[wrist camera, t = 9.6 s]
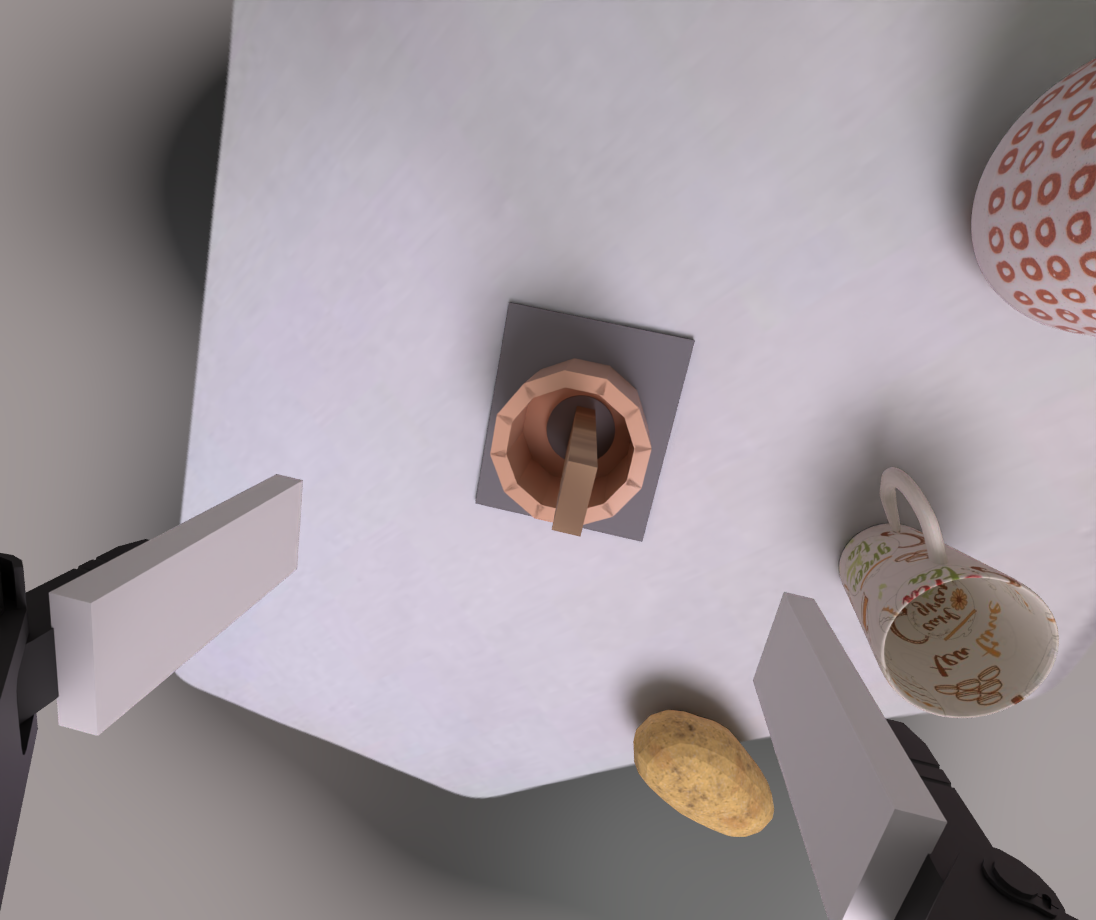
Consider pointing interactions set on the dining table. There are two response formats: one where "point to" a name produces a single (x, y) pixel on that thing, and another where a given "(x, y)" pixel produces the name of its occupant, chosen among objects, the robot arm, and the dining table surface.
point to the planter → (1044, 208)
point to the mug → (944, 615)
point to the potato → (703, 772)
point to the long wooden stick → (578, 455)
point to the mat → (629, 351)
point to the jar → (538, 468)
